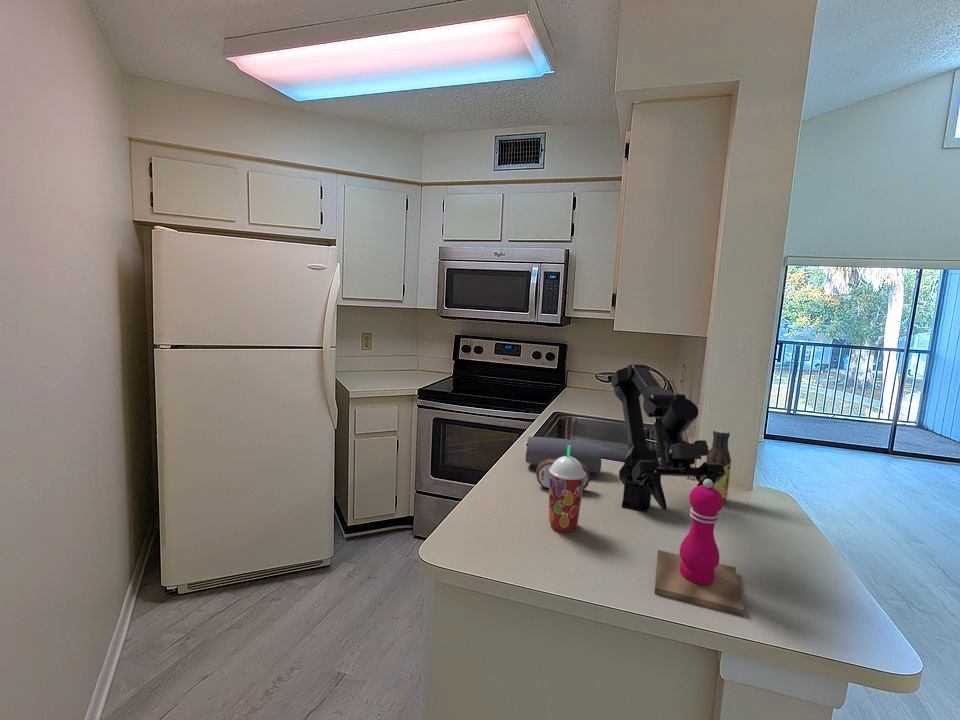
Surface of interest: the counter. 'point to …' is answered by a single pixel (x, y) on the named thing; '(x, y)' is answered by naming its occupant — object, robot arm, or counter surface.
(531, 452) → the bluetooth speaker
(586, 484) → the tin
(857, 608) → the counter surface
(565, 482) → the smoothie
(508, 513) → the counter surface
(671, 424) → the robot arm
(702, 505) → the pepper mill
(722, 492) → the sauce bottle
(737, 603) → the walnut board
